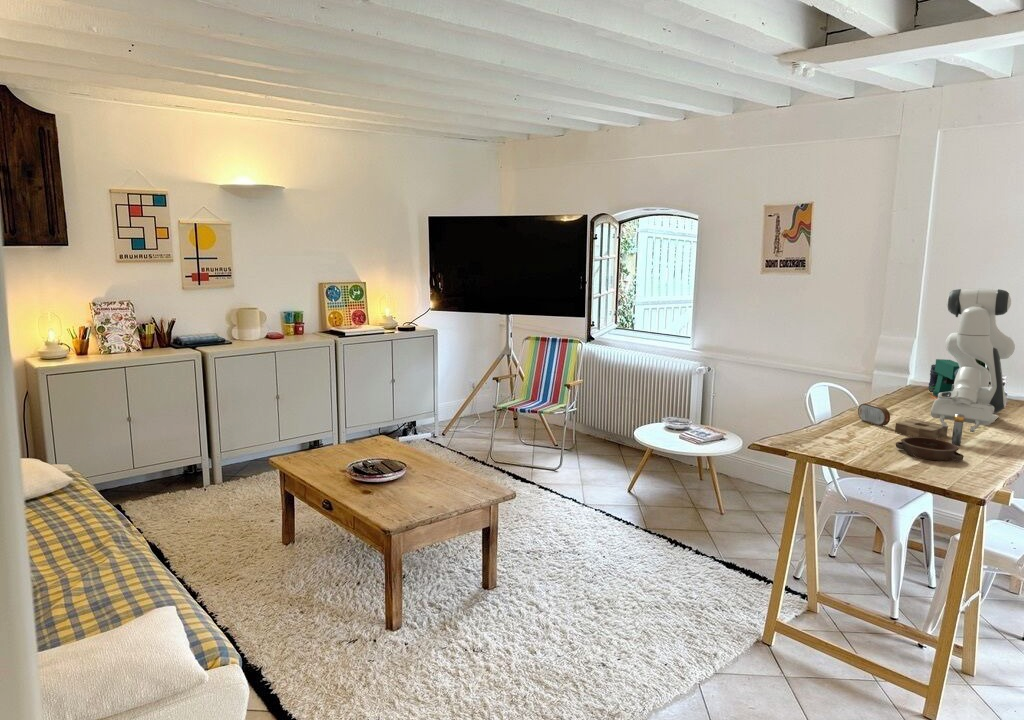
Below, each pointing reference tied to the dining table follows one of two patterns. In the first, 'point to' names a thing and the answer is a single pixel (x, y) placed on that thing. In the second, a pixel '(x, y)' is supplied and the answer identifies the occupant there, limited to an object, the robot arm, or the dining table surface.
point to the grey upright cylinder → (957, 429)
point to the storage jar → (932, 378)
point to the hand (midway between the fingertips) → (957, 429)
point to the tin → (874, 414)
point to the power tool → (945, 375)
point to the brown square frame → (921, 429)
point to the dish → (930, 448)
